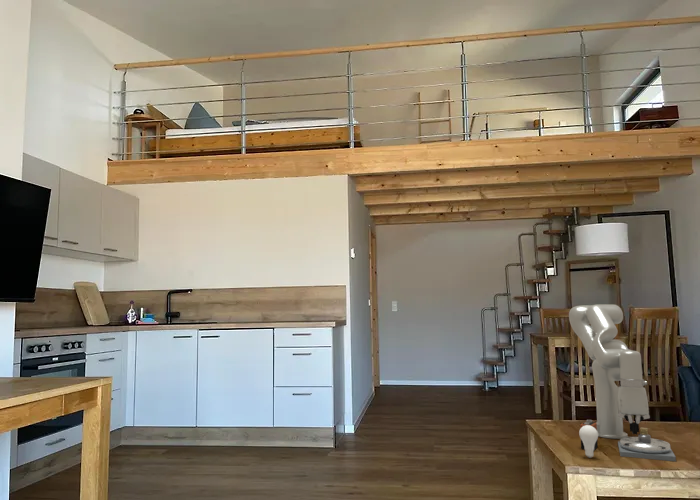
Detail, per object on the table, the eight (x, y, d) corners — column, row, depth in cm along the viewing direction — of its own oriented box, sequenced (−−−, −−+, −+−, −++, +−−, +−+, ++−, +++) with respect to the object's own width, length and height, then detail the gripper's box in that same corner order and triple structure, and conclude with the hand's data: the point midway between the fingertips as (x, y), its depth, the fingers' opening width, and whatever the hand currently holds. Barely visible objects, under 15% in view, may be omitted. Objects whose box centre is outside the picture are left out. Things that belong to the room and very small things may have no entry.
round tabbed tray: (672, 455, 187) (670, 439, 188) (619, 450, 194) (619, 434, 195) (669, 445, 201) (668, 429, 202) (620, 440, 209) (620, 425, 209)
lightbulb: (597, 461, 187) (596, 427, 188) (578, 458, 190) (577, 425, 191) (600, 456, 192) (598, 424, 193) (581, 454, 195) (580, 422, 196)
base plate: (620, 456, 193) (620, 451, 193) (618, 445, 209) (617, 440, 209) (675, 461, 186) (675, 456, 186) (669, 449, 202) (668, 445, 202)
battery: (598, 447, 205) (596, 420, 206) (593, 451, 200) (591, 423, 201) (585, 445, 208) (584, 418, 209) (580, 449, 202) (579, 421, 204)
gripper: (652, 383, 208) (655, 433, 205) (609, 381, 213) (612, 430, 211) (655, 385, 201) (658, 437, 199) (610, 384, 206) (613, 434, 204)
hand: (634, 433), depth 205 cm, fingers closed
